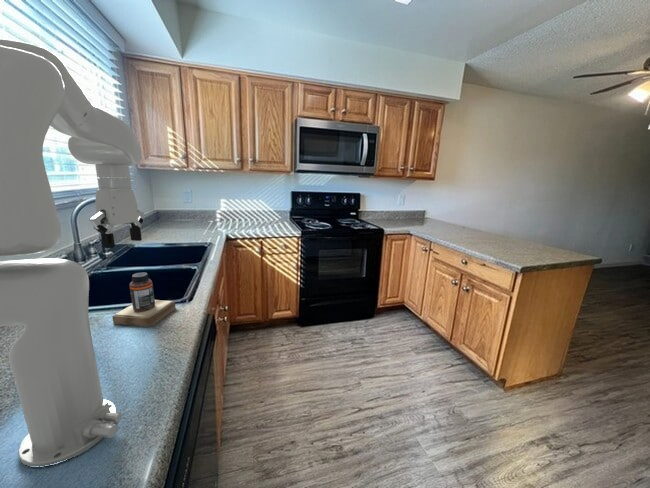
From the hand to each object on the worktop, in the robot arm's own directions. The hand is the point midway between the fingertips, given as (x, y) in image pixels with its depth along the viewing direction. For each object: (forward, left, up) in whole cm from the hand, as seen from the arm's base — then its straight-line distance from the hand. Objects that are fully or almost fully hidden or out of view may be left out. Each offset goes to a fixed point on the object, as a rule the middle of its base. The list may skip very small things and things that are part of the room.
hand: (123, 243), depth 81 cm
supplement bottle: (-3, -1, -21) cm, 22 cm away
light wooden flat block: (-3, -2, -24) cm, 24 cm away
